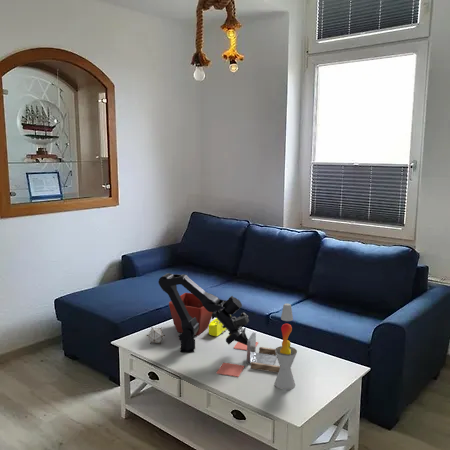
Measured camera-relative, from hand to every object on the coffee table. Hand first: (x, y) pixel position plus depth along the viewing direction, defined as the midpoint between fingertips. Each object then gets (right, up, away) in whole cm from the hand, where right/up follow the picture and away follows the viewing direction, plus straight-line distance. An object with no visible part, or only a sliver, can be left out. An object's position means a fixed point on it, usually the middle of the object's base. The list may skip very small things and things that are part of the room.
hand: (249, 345), depth 216 cm
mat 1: (-9, -9, -10) cm, 15 cm away
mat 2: (-1, -4, +15) cm, 15 cm away
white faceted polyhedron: (-46, -4, +18) cm, 49 cm away
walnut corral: (+10, -7, -2) cm, 12 cm away
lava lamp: (+14, -11, -21) cm, 28 cm away
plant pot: (-29, -1, +34) cm, 45 cm away
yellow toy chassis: (-14, -1, +33) cm, 35 cm away
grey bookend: (+6, -7, -1) cm, 9 cm away
